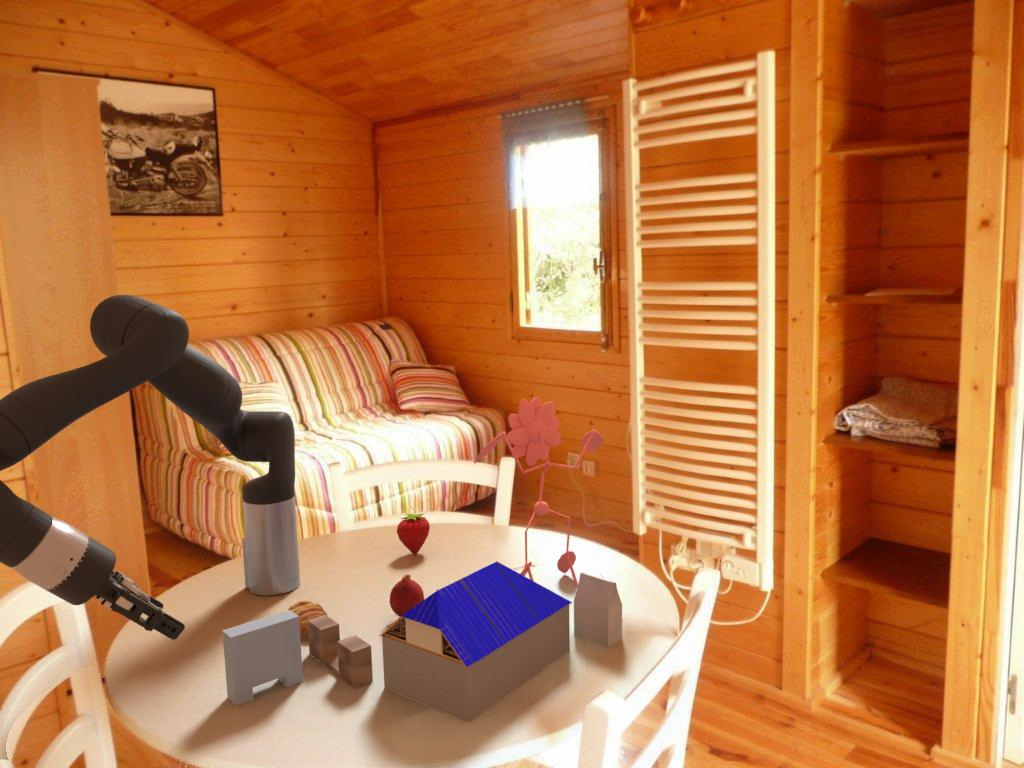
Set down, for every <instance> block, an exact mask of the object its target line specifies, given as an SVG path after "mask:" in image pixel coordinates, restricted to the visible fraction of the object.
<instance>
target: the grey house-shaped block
mask: <svg viewBox="0 0 1024 768" xmlns="http://www.w3.org/2000/svg"><path fill="white" fill-rule="evenodd" d="M577 583H578V585H577V588H576V591H575V595H574V598H573V635H574V636H575V635H576V637H578V638H580V637H581V639H582V640H586V641H588V640H589V642H592V643H595V644H597V645H599V646H602V647H604V648H607V649H609V648H610V647H612V646H614V645H615V644H618V643H619V642H620V641H622V640H623V603H622V600H621V598H620V594H619V591H618V587H617V582H615V581H611V580H608V579H606V578H603V577H602V578H601V577H599V576H595V575H592V574H588V573H585V572H580V574H579V578H578V582H577Z"/></svg>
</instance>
